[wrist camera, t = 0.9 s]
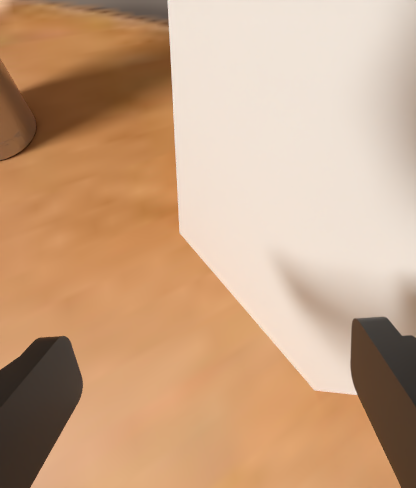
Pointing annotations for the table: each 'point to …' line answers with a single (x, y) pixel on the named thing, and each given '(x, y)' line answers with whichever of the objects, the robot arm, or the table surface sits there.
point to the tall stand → (301, 165)
